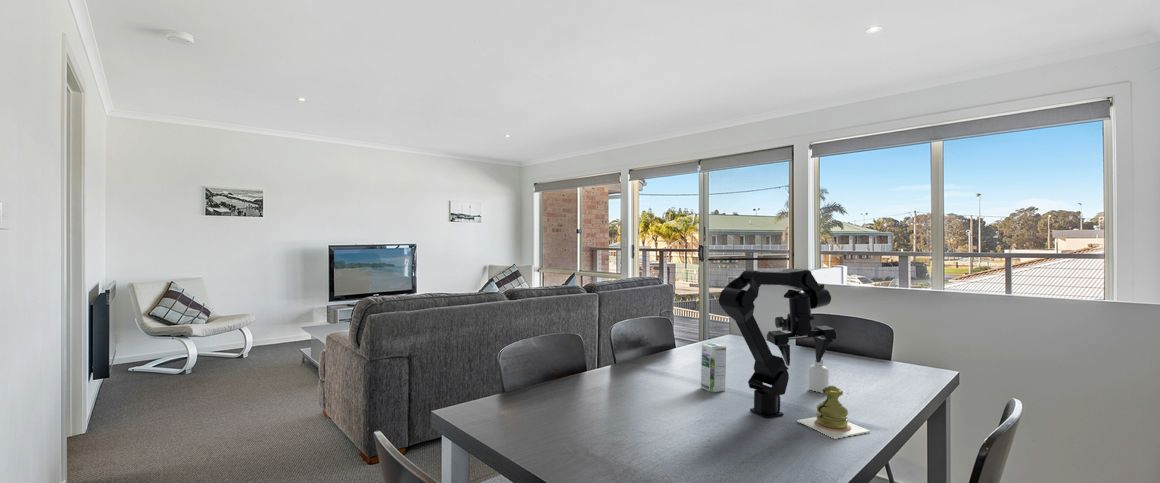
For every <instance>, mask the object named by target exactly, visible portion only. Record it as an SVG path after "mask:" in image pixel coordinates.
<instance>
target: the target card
mask: <svg viewBox="0 0 1160 483" xmlns="http://www.w3.org/2000/svg"><path fill="white" fill-rule="evenodd" d="M816 418H817V416H813V417H808V418H801V419H797V420H796V422H797V423H798V422H799V423H798V424H800V423H801V424H800V425H802V424H804V425H806V426H809V427H811V428H813V429H815V430H817V431H819V432H821V433H820V434H822V433H823V434H822V435H824V434H825V436H826V435H827V436H826V437H828V436H829V437H828V438H830V437H831V439H832V438H834V439H833V440H839V439H838V438H840V439H844V438H843V437H845V438H849V437H848V436H851V437H854V435H856V436H859V435H860V434H861V435H865V434H864V433H866V434H870V433H871V430H869V429H866V428H864V427H861V426H860V425H856V424H854V423H852V422H850V421H848V427H847V428H845V429H830V428H826V427H823V426H821V425H819V424H818V423H817V421H816ZM804 425H803V426H804ZM806 426H805V427H806ZM809 427H808V428H809ZM811 428H810V429H811ZM813 429H812V430H813ZM815 430H814V431H815ZM817 431H816V432H817ZM819 432H818V433H819ZM869 432H870V433H869Z"/></svg>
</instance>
